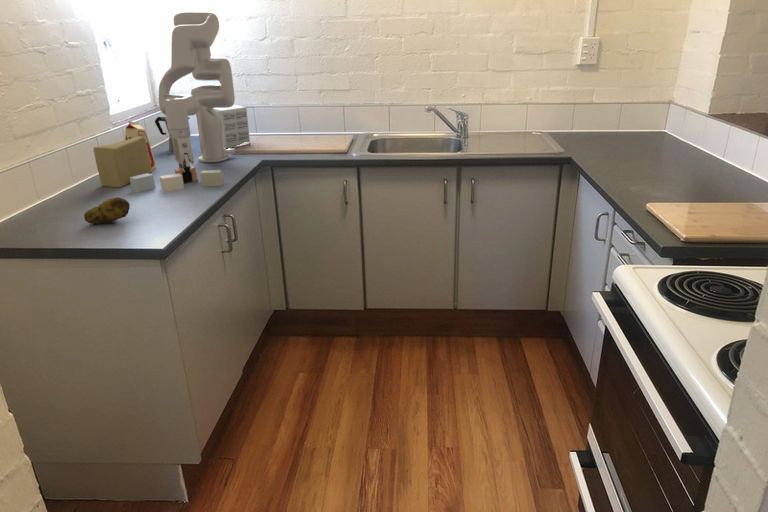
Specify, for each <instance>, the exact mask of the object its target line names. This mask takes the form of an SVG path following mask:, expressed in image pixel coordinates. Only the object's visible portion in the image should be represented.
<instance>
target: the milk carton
mask: <svg viewBox="0 0 768 512" xmlns="http://www.w3.org/2000/svg"><path fill="white" fill-rule="evenodd" d="M138 136H140V137H144V138H145V141H146V145H147V149H148V152H149V157H150V162H151V169H152V170H154V169H156V168H157V164H156V161H155V156H154V154H153V150H152V145H151V142H150V140H149V137H148V134H147V132H146V129H145V128H144V127H142V125H140V122H138V121H137V122H135V121H134V122H133V121H130V120H128V125H126V127H125V139H124V141H125V140H128V139H131V138H134V137H138Z"/></svg>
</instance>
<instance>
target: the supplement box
mask: <svg viewBox="0 0 768 512" xmlns="http://www.w3.org/2000/svg"><path fill="white" fill-rule="evenodd" d="M213 109H214V110H215V111H216V112H217V114H218V115H219V117H220V122H221V131H222V139H223V147H224V148H228V149H229V148H230V149H233V148H232V147H234V148H236V147H235V146H237V145H240V144H242V143H244V142H249V141H250V138H251V137H250V130H249V129H250V128H249V119H248V111H247V107H246V106H244V105H239V104H234V105H233V106H232V107H229V108H213ZM250 142H251V141H250Z"/></svg>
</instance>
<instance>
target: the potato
mask: <svg viewBox="0 0 768 512" xmlns="http://www.w3.org/2000/svg"><path fill="white" fill-rule="evenodd" d="M130 205H131V204H130V203H129V201H128V200H127V199H125V198H121V197H117V196H116V197H113V198H108V199H106V200H105V201H103V202H102V203H101V204H99V205H97V206H95V207H93V208H90V209H88V210H86V211H85V212H84V215H83V216H84V217H83V218H84V220H85V222H87V224H88V223H89V224H93V225H96V224H108V223H110V224H111V223H113V222H116V221H117V220H119V219H120V220H121V219H122V218H125V217H126V216H127V215H128V214H129V211H130Z"/></svg>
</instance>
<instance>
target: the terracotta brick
mask: <svg viewBox="0 0 768 512" xmlns="http://www.w3.org/2000/svg"><path fill="white" fill-rule="evenodd" d="M190 168H191V173H192V180H193V181H192V182H197V181H198V174H197V168H196V166H193V165H190ZM182 172H183V169H182V168H179V167H177V168H174V174H181V175H182V179H183V174H182ZM192 182H191V183H192ZM183 184H185V183H184V181H183Z"/></svg>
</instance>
